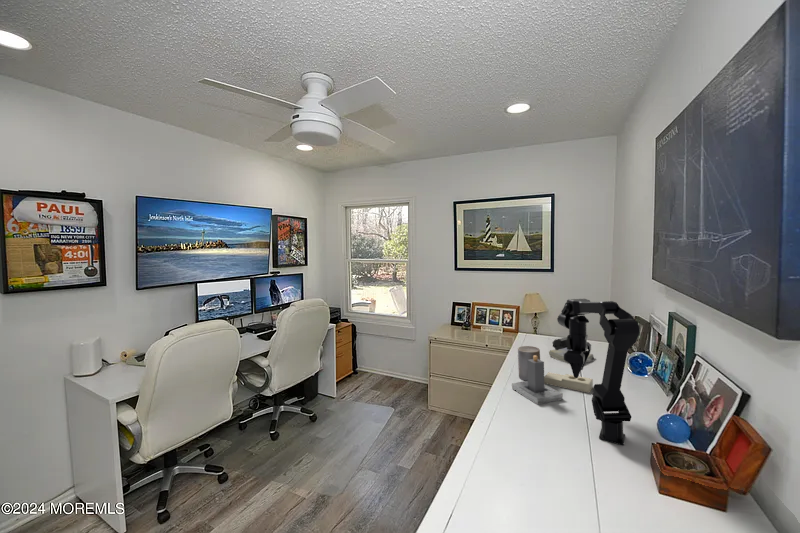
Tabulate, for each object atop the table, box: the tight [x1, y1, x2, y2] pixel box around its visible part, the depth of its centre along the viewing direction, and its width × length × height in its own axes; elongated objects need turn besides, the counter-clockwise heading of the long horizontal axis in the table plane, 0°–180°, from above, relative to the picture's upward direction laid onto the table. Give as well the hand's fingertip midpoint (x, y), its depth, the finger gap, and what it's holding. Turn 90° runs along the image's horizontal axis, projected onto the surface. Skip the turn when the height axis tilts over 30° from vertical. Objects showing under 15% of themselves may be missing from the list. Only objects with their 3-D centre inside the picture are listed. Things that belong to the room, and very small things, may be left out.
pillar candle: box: [517, 345, 541, 381], centre depth 155 cm, size 10×10×15 cm
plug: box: [527, 355, 545, 393], centre depth 138 cm, size 4×4×15 cm
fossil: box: [548, 348, 597, 364], centre depth 180 cm, size 20×5×17 cm
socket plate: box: [511, 380, 564, 406], centre depth 138 cm, size 16×12×2 cm
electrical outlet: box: [544, 371, 594, 394], centre depth 145 cm, size 7×4×18 cm
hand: (578, 373), depth 124 cm, fingers open, 9 cm apart
